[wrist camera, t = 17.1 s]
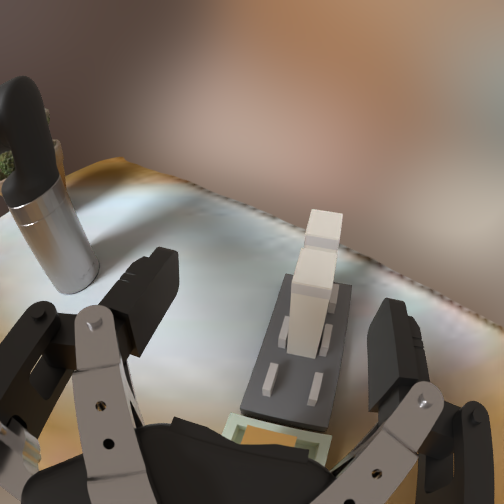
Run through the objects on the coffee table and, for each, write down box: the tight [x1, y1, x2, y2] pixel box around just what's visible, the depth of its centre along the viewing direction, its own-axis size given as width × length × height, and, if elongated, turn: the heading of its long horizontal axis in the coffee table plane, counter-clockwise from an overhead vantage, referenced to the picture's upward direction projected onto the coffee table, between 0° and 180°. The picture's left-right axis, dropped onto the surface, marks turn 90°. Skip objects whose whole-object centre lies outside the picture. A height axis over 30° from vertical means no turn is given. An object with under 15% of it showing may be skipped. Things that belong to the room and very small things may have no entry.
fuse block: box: [240, 274, 352, 432], centre depth 33 cm, size 9×19×4 cm, turn 163°
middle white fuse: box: [287, 248, 337, 359], centre depth 29 cm, size 3×4×12 cm
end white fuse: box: [304, 209, 343, 254], centre depth 33 cm, size 3×4×12 cm
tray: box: [222, 412, 332, 467], centre depth 23 cm, size 10×10×3 cm
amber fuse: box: [241, 425, 297, 447], centre depth 19 cm, size 3×4×12 cm
